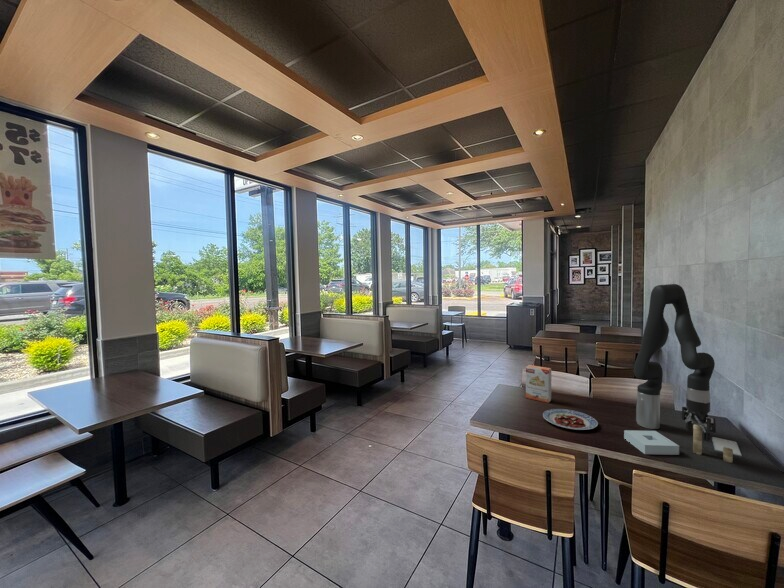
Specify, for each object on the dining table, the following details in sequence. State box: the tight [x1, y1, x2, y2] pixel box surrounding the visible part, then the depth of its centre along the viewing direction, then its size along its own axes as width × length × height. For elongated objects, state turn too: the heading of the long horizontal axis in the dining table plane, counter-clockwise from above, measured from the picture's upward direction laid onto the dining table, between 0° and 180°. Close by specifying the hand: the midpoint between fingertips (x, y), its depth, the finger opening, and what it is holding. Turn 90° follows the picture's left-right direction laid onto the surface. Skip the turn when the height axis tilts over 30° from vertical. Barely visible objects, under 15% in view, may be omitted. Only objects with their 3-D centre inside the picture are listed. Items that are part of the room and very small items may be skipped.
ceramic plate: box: [542, 408, 599, 431], centre depth 174 cm, size 26×26×3 cm
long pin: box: [692, 423, 703, 456], centre depth 141 cm, size 3×3×12 cm
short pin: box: [722, 447, 734, 464], centre depth 135 cm, size 3×3×5 cm
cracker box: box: [525, 364, 552, 404], centre depth 207 cm, size 14×6×21 cm, turn 48°
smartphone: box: [711, 436, 743, 457], centre depth 146 cm, size 8×1×15 cm
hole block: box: [623, 429, 680, 456], centre depth 148 cm, size 14×14×4 cm
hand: (697, 436), depth 141 cm, fingers open, 8 cm apart
